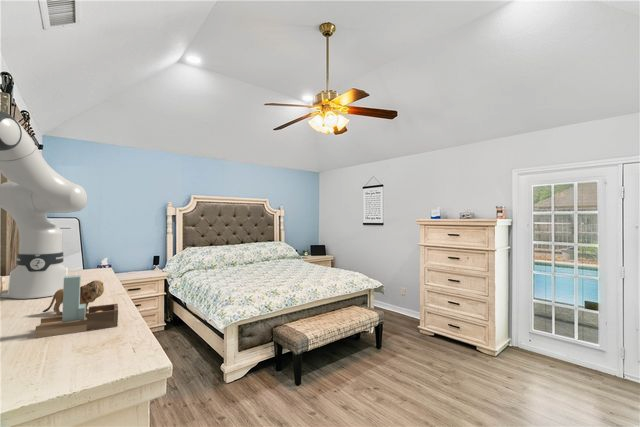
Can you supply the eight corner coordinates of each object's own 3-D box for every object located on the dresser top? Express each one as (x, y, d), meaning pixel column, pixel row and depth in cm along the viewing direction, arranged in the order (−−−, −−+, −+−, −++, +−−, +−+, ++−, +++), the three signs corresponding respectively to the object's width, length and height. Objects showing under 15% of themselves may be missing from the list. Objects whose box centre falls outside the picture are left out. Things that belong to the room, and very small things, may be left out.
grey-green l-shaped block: (64, 320, 76) (65, 275, 76) (85, 317, 78) (87, 274, 78) (61, 325, 72) (63, 278, 72) (84, 322, 74) (85, 277, 75)
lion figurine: (106, 308, 92) (107, 278, 92) (98, 314, 87) (100, 282, 87) (47, 311, 88) (48, 279, 88) (36, 317, 83) (37, 283, 83)
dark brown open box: (88, 322, 80) (89, 306, 80) (117, 318, 83) (117, 303, 83) (86, 330, 74) (87, 314, 74) (117, 326, 77) (118, 310, 77)
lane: (40, 328, 74) (41, 318, 74) (88, 322, 79) (88, 312, 79) (35, 338, 69) (35, 326, 69) (86, 330, 74) (87, 320, 74)
